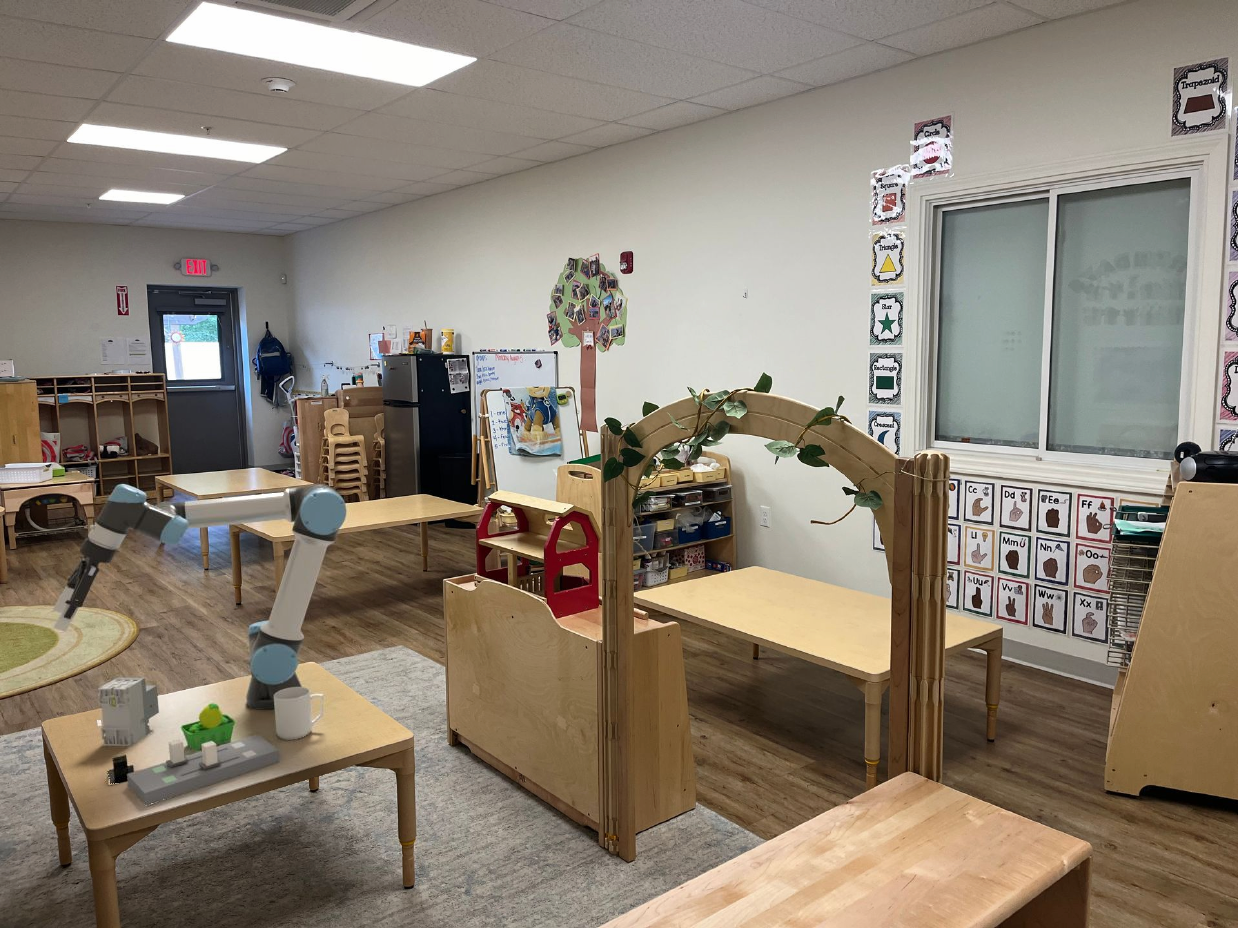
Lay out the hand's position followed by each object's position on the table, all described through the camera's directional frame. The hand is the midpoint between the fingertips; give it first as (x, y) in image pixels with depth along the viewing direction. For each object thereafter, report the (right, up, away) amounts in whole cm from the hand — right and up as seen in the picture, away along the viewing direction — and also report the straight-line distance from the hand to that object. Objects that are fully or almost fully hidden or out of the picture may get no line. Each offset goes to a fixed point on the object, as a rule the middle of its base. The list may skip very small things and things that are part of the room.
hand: (58, 620), depth 221 cm
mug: (+56, -32, +12) cm, 65 cm away
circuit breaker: (+11, -32, +14) cm, 37 cm away
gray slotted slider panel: (+41, -34, -10) cm, 55 cm away
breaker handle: (+35, -31, -12) cm, 48 cm away
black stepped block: (+21, -36, -10) cm, 42 cm away
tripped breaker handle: (+44, -31, -13) cm, 55 cm away
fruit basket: (+34, -33, +7) cm, 48 cm away
